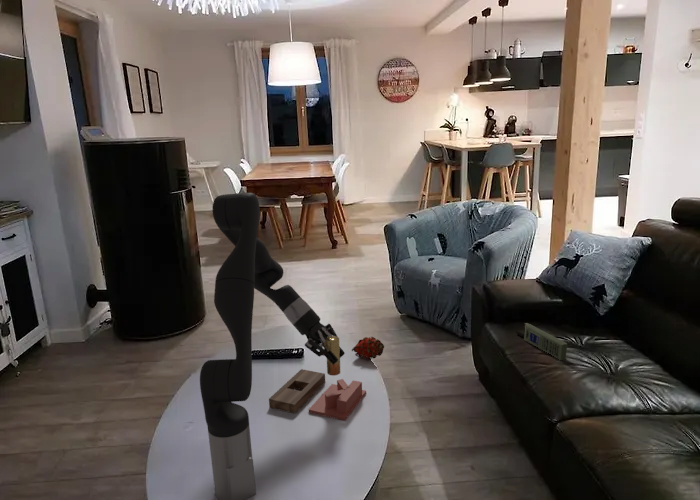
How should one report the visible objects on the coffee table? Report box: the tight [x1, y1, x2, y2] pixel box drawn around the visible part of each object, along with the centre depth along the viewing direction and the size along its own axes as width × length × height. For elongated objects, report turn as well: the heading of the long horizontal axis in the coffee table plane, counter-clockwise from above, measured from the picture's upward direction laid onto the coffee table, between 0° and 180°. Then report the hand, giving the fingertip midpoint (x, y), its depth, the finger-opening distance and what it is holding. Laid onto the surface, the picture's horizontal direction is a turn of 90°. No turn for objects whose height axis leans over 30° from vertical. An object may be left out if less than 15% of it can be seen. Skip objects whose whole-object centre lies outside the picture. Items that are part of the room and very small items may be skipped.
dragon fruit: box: [351, 336, 385, 361], centre depth 181 cm, size 8×8×12 cm
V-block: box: [308, 378, 367, 422], centre depth 153 cm, size 12×16×5 cm
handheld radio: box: [515, 322, 568, 361], centre depth 186 cm, size 7×3×25 cm
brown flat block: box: [268, 368, 326, 414], centre depth 159 cm, size 9×20×3 cm, turn 156°
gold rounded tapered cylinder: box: [326, 335, 341, 377], centre depth 150 cm, size 4×4×11 cm
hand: (339, 358), depth 149 cm, fingers closed on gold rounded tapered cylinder, 4 cm apart
